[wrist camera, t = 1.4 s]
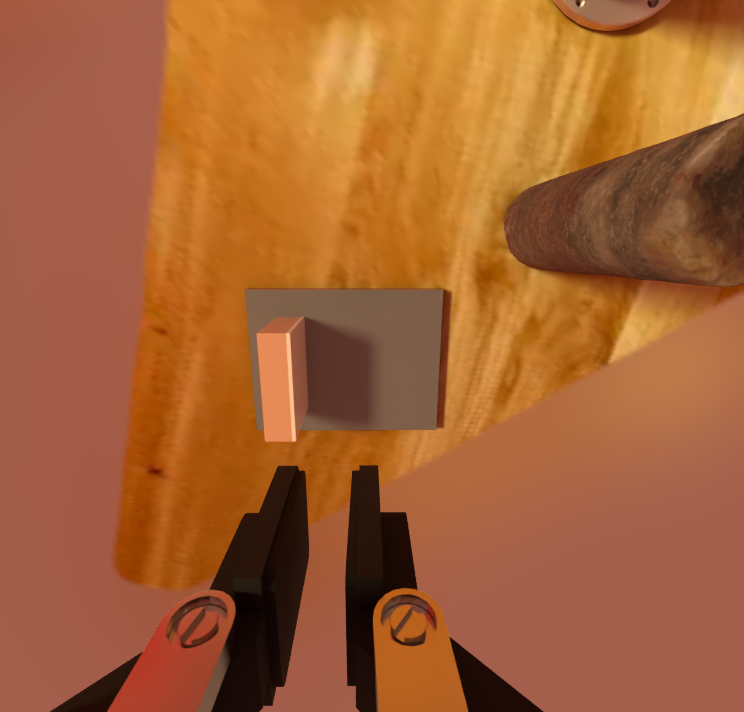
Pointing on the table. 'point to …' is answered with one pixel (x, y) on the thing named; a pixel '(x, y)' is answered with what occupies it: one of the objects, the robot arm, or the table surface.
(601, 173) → the brown weathered post
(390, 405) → the board
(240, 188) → the table surface
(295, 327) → the tile
